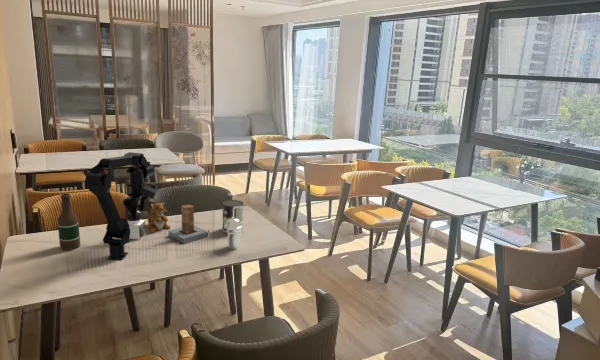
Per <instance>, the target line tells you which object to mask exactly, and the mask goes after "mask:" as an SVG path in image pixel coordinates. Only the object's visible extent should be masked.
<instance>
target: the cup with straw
mask: <svg viewBox="0 0 600 360" xmlns="http://www.w3.org/2000/svg"><path fill="white" fill-rule="evenodd" d="M242 207H243V208H246V205H243V206H236V207H233V218H230V219H228V221H227V222H226V224H225V225H224V228H225V229H226V232H227V233H226V232H225V233H226V234H227V235H226V237H227V245H228V249H230V250H232V249H233V250H234V249H239V248H240V246H239V245H240V240H241V233H242V232H241V229H242V228H243V229H244V225H243V224H244V223H243V224H242V223H241V221H240V220H239V219H238V218H235V217H234V209H235V208H242Z"/></svg>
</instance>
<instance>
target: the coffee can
mask: <svg viewBox="0 0 600 360" xmlns="http://www.w3.org/2000/svg"><path fill="white" fill-rule="evenodd" d="M244 204H245V203H244V202H243V201H242V200H239V199H229V200H224V201H223V202H222V203H221V205H222V232H223V233H226V234H227V232H226V229H225V228H224V225H225V224H226V222H227V221H228V219H230V218H233V207H236V206H245V205H244ZM234 217H235V218H238V219H239V220H240V221H241V223H242V224H244V207H242V208H235V209H234ZM243 231H244V227H243V228H242V229H241V233H242V232H243Z"/></svg>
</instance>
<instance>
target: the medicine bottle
mask: <svg viewBox="0 0 600 360" xmlns="http://www.w3.org/2000/svg"><path fill="white" fill-rule="evenodd" d="M126 217H127V218H126V219H127V220H128V224H129V225H130V226H129V228H130V237H129V240H138V241H139V240H141V239H142V238H143V237H145V235H146V220H145V219H142V211H140V210H139V211H138V210H137V217H136V218H133V216H132V215H131V213H130V212H129V211H128V212H127V214H126Z"/></svg>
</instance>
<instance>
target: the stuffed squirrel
mask: <svg viewBox="0 0 600 360" xmlns="http://www.w3.org/2000/svg"><path fill="white" fill-rule="evenodd" d="M150 205H151V207H152V208H151V210H150V212H149V213H148V218H147V223H148V224H147V228H148V231H149V232H150V233H155V232H156V231H159V230H162V229H163V230H169V229H170V230H171V225H168V223H167V222H168V217H167V216H166V215H165V214H164V213H165V212H168V210H167V209H165V208H164V205H165V202H156V203H151V204H150Z"/></svg>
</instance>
